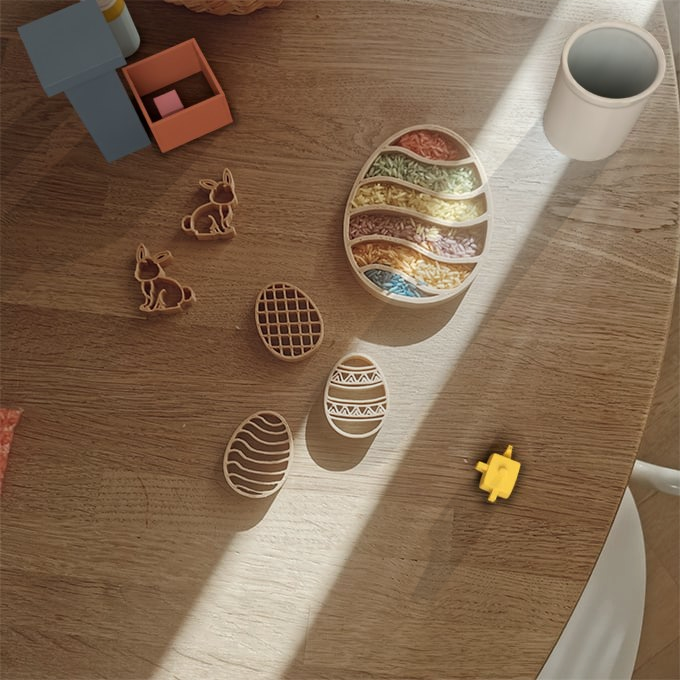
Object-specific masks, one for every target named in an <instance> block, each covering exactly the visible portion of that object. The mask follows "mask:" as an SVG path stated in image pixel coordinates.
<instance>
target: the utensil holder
mask: <svg viewBox="0 0 680 680" xmlns="http://www.w3.org/2000/svg"><path fill="white" fill-rule="evenodd" d="M666 60H667V59H666V55H665V52H664V49H663V47H662V45H661V44H660V42H659V41H658V40H657V38H656V37H655V35H653V34H652V33H650V32H649V31H648V30H647V29H645V28H644V27H642V26H639V24H636V23H633V22H630V21H627V20H623V19H614V18H613V19H612V18H611V19H599V20H595V21H592V22H589V23H586V24H585V25H582V26H581V27H579V28H577V29H576V30H575V31H573V32H572V34H571V35H570V36H569V37H568V38H567V39H566V41H565V43H564V45H563V47H562V51H561V55H560V59H559V65H558V69H557V72H556V75H555V78H554V81H553V85H552V87H551V91H550V94H549V97H548V100H547V104H546V107H545V112H544V115H543V120H542V128H543V133H544V136H545V138H546V140H547V141H548V143H549V145H551V147H552V148H553V149H554V150H556V151H557V152H558V153H560V154H561V155H562V156H565V157H567V158H570V159H573V160H576V161H580V162H595V161H601V160H603V159H606V158H608V157H610V156H612V155H613V154H615V153H616V152H618V151H619V149H620V148H621V147H622V145H623V144H624V143H625V141H626V139H627V137H628V136H629V135H630V133H631V131H632V130H633V128H634V126H635V125H636V123H637V121H638V120H639V118H640V116H641V114H642V113H643V111H644V109H645V107H646V106H647V104H648V102H649V100H650V98H651V97H652V95H654V93H655V92H656V91H657V89H658V88H659V87H660V85H661V83H662V81H663V79H664V77H665V74H666V70H667V61H666Z"/></svg>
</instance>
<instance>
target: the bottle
mask: <svg viewBox="0 0 680 680" xmlns="http://www.w3.org/2000/svg"><path fill="white" fill-rule="evenodd" d="M81 1H84V0H79V2H81ZM96 1H97V3H98V5H99V8H100V10H101V12H102V14H103V16H104V18H105V20H106V22H107V24H108V26H109V28H110V30H111V32H112V34H113V36H114V38H115V40H116V42H117V44H118V46H119V48H120V50H121V52H122V54H123V56H124V59H126V58H128V57H131V56H132V55H133V54H134V53H136V52H137V50H138V49H139V47H140V43H141V38H140V35H139V32H138V30H137V28H136V26H135V23H134V21H133V19H132V16H131V14H130V12H129V10H128V7H127V5H126V2H125V0H96Z"/></svg>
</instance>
